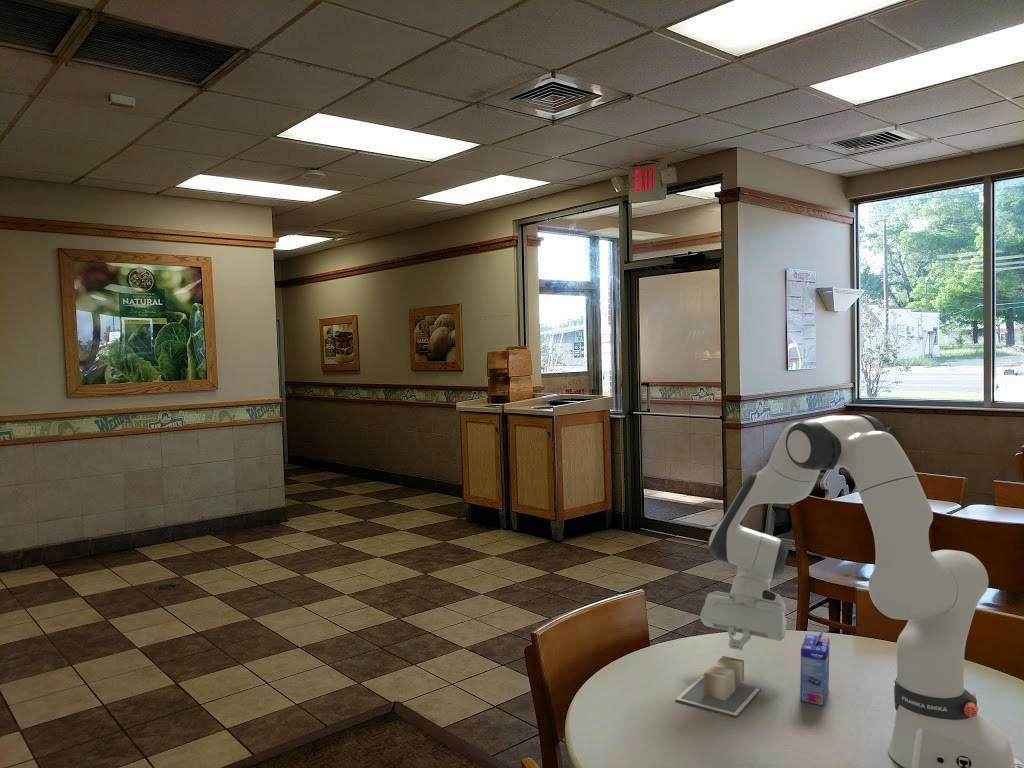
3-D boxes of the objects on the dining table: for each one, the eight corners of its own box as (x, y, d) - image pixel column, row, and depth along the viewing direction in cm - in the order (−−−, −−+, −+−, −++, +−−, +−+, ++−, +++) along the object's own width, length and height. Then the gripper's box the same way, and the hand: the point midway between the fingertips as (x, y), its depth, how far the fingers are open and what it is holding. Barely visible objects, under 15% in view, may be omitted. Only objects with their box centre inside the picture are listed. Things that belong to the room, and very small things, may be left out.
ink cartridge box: (826, 707, 164) (825, 641, 163) (799, 702, 166) (798, 637, 166) (830, 688, 172) (829, 626, 172) (805, 684, 175) (804, 623, 175)
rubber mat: (761, 690, 173) (761, 687, 173) (736, 717, 160) (736, 715, 160) (703, 675, 181) (703, 673, 181) (675, 701, 168) (675, 698, 168)
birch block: (743, 660, 176) (725, 678, 167) (744, 681, 177) (725, 700, 167) (723, 655, 179) (703, 673, 170) (723, 676, 180) (704, 695, 170)
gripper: (705, 583, 191) (690, 633, 183) (787, 597, 179) (774, 650, 171) (712, 596, 195) (697, 645, 187) (792, 610, 182) (781, 663, 175)
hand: (735, 648), depth 179 cm, fingers closed
